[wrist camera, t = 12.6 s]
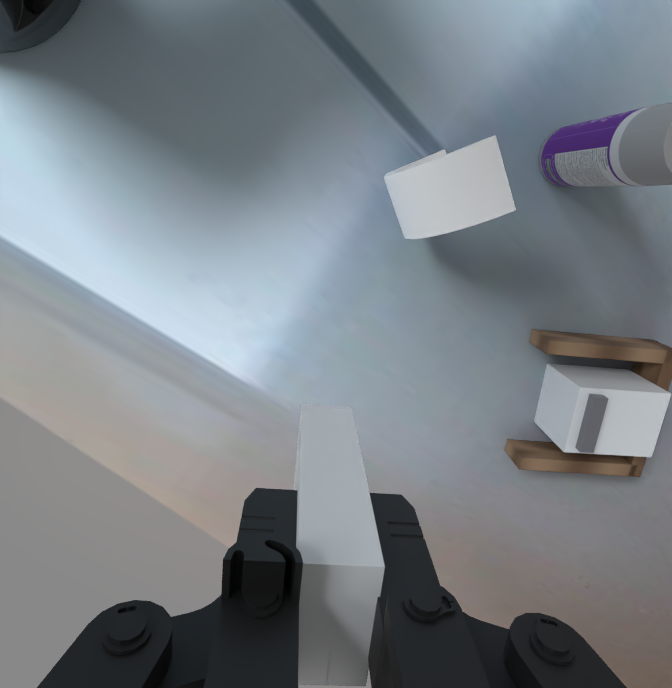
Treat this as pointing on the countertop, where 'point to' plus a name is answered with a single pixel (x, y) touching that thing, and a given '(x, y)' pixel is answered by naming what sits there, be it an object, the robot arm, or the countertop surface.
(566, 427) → the matte white cube
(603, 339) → the bay
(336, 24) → the countertop surface
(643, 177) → the container
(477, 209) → the headphone stand
